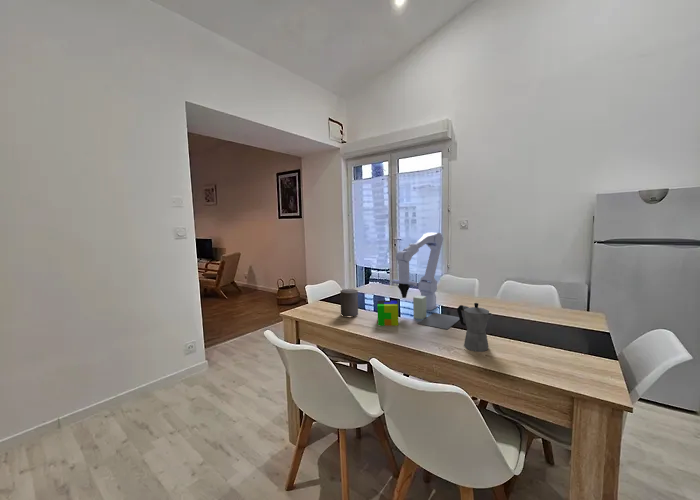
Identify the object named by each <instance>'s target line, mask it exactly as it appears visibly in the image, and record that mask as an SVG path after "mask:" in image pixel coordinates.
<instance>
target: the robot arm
mask: <svg viewBox="0 0 700 500" xmlns="http://www.w3.org/2000/svg"><path fill="white" fill-rule="evenodd" d="M443 241H444V237H443V234H442V233H441V232H424V233H423V234H422V236H421V237H420V238H419V239H418V240H417V241H416V242H415V243H413V242H412V243H409V244H408V246H406V247H404V248H403V250H399V251H398V252H397V253H396V255H395V259H396V261H397V264H398V266H397V267H398V279H394V278H393V279H391V284H396V285H397V287H398V289H399V292H400V294H401V297H402V298H403V299H406V298H407V296H408V295H407V294H408V292H409V289H410V288H411V286H413V287H417V288H418V289H417V290H419V293H420V296H426V311H433V310H434V309H436V308H438V305H437V295H436V292H437V290H438V281H437V279H436V278H435V275H436V271H437V267H438V263H439V258H440V254H441V250H442V245H443ZM425 245H426V246H427V247H428V248H429V249H430V252H429V255H428V260H427V264H426V268H425V273H424V275H423V276H422V277H421V278H420V280H419V281H418V282H417V281H413V280H410V262H411V260H412V258H413V256H415V255H416V254H417V253H418V252H419V249H420V248H422V247H424V246H425Z"/></svg>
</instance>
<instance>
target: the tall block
mask: <svg viewBox="0 0 700 500" xmlns="http://www.w3.org/2000/svg"><path fill="white" fill-rule="evenodd" d="M412 303H413V304H412V305H413V319H417V320H418V319H419V320H423V319H425V318H427V317H428V315H427V310H426V296H421V295H418V294H417V295H415V296H413V298H412Z"/></svg>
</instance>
